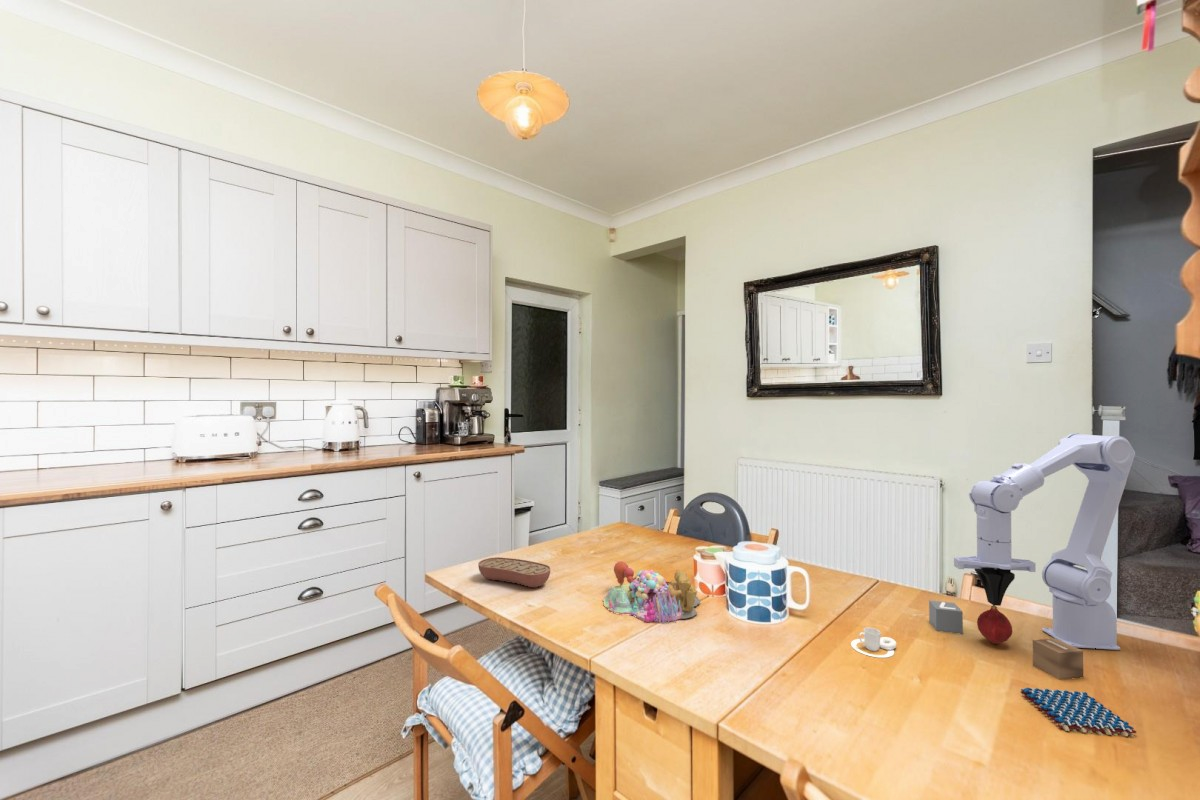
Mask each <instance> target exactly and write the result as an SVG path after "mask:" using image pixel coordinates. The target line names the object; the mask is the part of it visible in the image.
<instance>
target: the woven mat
mask: <svg viewBox="0 0 1200 800" xmlns="http://www.w3.org/2000/svg"><path fill="white" fill-rule="evenodd" d="M1020 694H1022V696H1023V698H1024V699H1026V700H1028V701H1029V702H1030V703H1031V704H1032V705H1033V706H1035V707H1036V709H1037V710H1039V711H1040V712H1042V713H1043V714H1044V715H1045V716H1046V717H1047V718H1048V719H1050V720H1051V721H1052V722H1053V723H1054V724H1056V725H1057V727H1058V728H1059V729H1061V730H1062V731H1064V732H1071V731H1072V732H1073V733H1078V731H1079V732H1080V733H1082V734H1085V733H1089V734H1093V733H1096V734H1097V735H1098V736H1105V734H1106V735H1107V736H1108V735H1109V736H1112V735H1113V736H1119V735H1118V734H1120V736H1121V737H1128V736H1129V737H1130V738H1135V737H1136V736H1135V735H1134V734H1137V730H1135V729H1134V727H1133V726H1131V725H1129V724H1130V723H1129V722H1128V721H1125V720H1123V719H1121V717H1120V716H1119V715H1118V714H1117V715H1116V714H1115V713H1114V712H1113V711H1112V710H1111V709H1109V708H1106V707H1104V704H1102V703H1100V702H1098V701H1096V698H1094V697H1091V696H1090V695H1089V694H1088V692H1086V691H1085V692H1081V691H1077V690H1074V691H1072V690H1066V689H1065V690H1064V689H1054V690H1053V689H1048V688H1045V689H1044V688H1038V687H1036V688H1034V687H1033V688H1032V687H1029V686H1028V687H1025V688H1021V689H1020ZM1070 730H1071V731H1070ZM1077 730H1078V731H1077ZM1093 731H1094V732H1093Z"/></svg>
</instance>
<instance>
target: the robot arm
mask: <svg viewBox="0 0 1200 800" xmlns="http://www.w3.org/2000/svg"><path fill="white" fill-rule="evenodd" d="M1135 456H1136V452H1135V450H1134V448H1133V446H1132V444H1131V443H1130V442H1129V440H1128V439H1127V438H1125V436H1120V435H1111V436H1110V435H1098V434H1097V435H1095V434H1084V433H1083V434H1082V433H1079V432H1077V433H1076V432H1075V433H1074V432H1073V433H1070V434H1067V435H1066V436H1065V437H1063V438H1059V440H1058V444H1057V445H1056V446H1055V447H1054V448H1052V449H1050V450H1048V452H1046V453H1045V454H1043V455H1041V456H1040V457H1039V458H1037V459H1035V460H1034V461H1033V462H1031V463H1024V462H1020V463H1018V462H1014V463H1013V464H1011V466H1010V467H1011V468H1009V469H1007V470H1005V471H1003V472H1002V473H1000V474H996V475H994V476H993V477H992V478H991V479H990V480H980V481H978V482H976V483H975V484H974V485H973V486H972V488H971V491H970V492H969V493H968V496H969V500H970V502H971V503H972V504H973V507H974V512H975V514H976V555H973V556H964V557H963V556H961V557H958V556H957V557H956V556H954V557H953V567H955V568H957V569H958V570H965V569H971V570H972V569H973V570H974V571H975V572H976V574H977V576H978V578H979V580H980V582H981V585H982V587H983V589H984V592H985V595H986V600H987V602H988V603H989V604H990V605H991V606H993V605H994V606H996V607H997V606H999V607H1001V606H1002V602H1003V599H1004V596H1005V593H1006V591H1007V590H1008V588H1009V587H1010V585H1011V583H1012V582H1013V581H1014V580H1015V576H1016V575H1015V573H1014V572H1011V571H1021V572H1022V571H1024V572H1025V571H1028V572H1030V573H1036V565H1037V564H1036V562H1034V561H1032V560H1030V559H1019V558H1013V557H1012V511H1015V510H1016V509H1017V508H1018V506H1019V504H1020V502H1021V500H1023V498H1024V497H1026V496H1027V495H1030V494H1032V493H1033V492H1035V491H1037V490H1038V489H1040V488H1042V487H1043V486H1044V484H1045V478H1047V477H1049V476H1051V475H1053V474H1055V473H1057V472H1059V471H1061V470H1063V469H1065V468H1067V467H1069V466H1071V465H1073V466H1074V467H1075V468H1076V469H1077V470H1078V471H1079V472H1080V473H1082V474H1084V475H1085V476H1086V478H1087V480H1088V483H1087V486H1086V488H1085V492H1084V494H1083V497H1082V501H1081V504H1080V506H1079V509H1078V513H1077V515H1076V518H1075V522H1074V524H1073V527H1072V529H1071V533H1070V537H1069V539H1068V542H1067V545H1066V548H1063V549H1061V550H1057V551H1055V552H1053V553H1052V555H1051V557H1050V559H1049V561H1048V562H1047V563H1046V564H1045V565H1044V566H1043V569H1042V572H1041V578H1042V581H1043V583H1044V584H1045V586H1047V587H1048V591H1049V592H1050V593H1051V594H1052V627H1051V628H1050V627H1042V628H1041V630H1042V631H1043V632H1044V633H1046V634H1048V635H1049V636H1051V638H1053V639H1054V638H1056V639H1058V640H1060V641H1062V642H1065V643H1067V644H1069V645H1071V646H1073V647H1075V648H1078V649H1081V648H1082V649H1095V648H1096V649H1099V650H1113V651H1115V650H1116V651H1120V650H1121V647H1120V646H1119V645H1118V643H1117V642H1118V636H1117V635H1118V633H1117V632H1118V630H1117V628H1118V626H1117V625H1118V624H1117V623H1118V620H1117V614H1116V612H1115V609H1114V608H1113V607H1112V605H1111V604H1110V603H1109V602H1108V601H1107V600H1108V599H1109V598H1110V595H1111V592H1112V587H1111V585H1112V584H1111V580H1112V575H1113V572H1112V571H1111V569H1110V568H1109V567H1108V566H1107V565H1106V564H1105V563H1104V562H1103V560H1101V558H1102V556H1103V552H1104V551H1105V546H1106V545H1107V541H1108V538H1109V535H1110V532H1111V529H1112V527H1113V523H1114V520H1115V517H1116V515H1117V511H1118V509H1119V505H1120V502H1121V499H1122V497H1123V496H1122V495H1124V494H1123V493H1124V490H1125V487H1126V484H1127V480H1128V478H1129V477H1128V476H1129V474H1130V472H1131V468H1132V465H1133V462H1134V460H1135ZM1077 566H1078V567H1077ZM1081 567H1082V568H1081ZM1084 568H1085V569H1084Z"/></svg>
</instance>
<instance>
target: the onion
mask: <svg viewBox="0 0 1200 800" xmlns="http://www.w3.org/2000/svg"><path fill="white" fill-rule="evenodd" d="M976 624H977V629H978V631H979V632H980V635H982V636H983V637H984V638H985V639H986V640H987V641H988V642H990V643H991V644H993V645H999V644H1001V643H1005V642H1007V641H1008V640H1009V639H1010V638H1011V637H1012V635H1013V627H1012V623H1011V622H1010V620H1009V619H1008V617H1007V616H1006V615H1005V614H1004V613H1002V612H1001V611H999V609H998V607H997V606H994V605H991V606H990V609H988V610H987V609H986V610H985V611H983V612H981V613H980V614H979V616H978V618H977V621H976Z"/></svg>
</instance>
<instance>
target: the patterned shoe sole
mask: <svg viewBox="0 0 1200 800" xmlns="http://www.w3.org/2000/svg"><path fill="white" fill-rule="evenodd" d="M477 565H478V570H479V573H480V574H481V576H482V577H484V578H485V579H487V580H489V579H492V580H491V581H495V580H500V581H499V582H504V581H507V582H506V583H510V582H512V583H511V584H515V583H517V584H516V585H520V584H521V585H520V586H523V585H524V587H527V586H528V588H531V587H535V588H539V587H541V586H543V585H544V584H545V583H547V581H548V579H549V578H550V574H551V567H550V565H548V564H544V563H540V562H535V561H531V560H527V559H526V560H525V559H519V558H511V557H509V558H508V557H500V556H499V557H497V556H496V557H489V558H484V559H482V560H479V562H478V564H477ZM538 586H539V587H538Z"/></svg>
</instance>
